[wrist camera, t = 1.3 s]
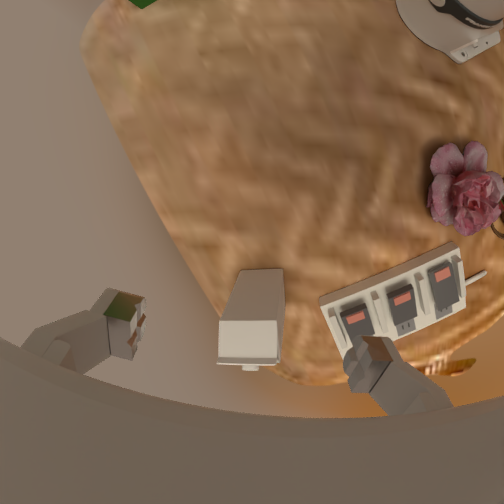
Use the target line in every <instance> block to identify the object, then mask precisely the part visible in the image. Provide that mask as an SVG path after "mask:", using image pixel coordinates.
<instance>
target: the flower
mask: <svg viewBox="0 0 504 504" xmlns="http://www.w3.org/2000/svg"><path fill="white" fill-rule="evenodd" d="M486 166H487V151H486V149H485V147H484V146H483V145H482V144H480V143H479V142H477V141H471V142H469V143H468V144H467V145H466V146H465V148H464V151H463V153H462V154H461V152H460V151H459V149H458V147H457V146H456V145H455V144H454V143H448V144H445V145H443V146H441V147H440V148H439V149H438V150H437V151H436V152H435V153H434V154H433V156H432V158H431V162H430V168H431V171H432V174H433V176H434V177H433V180H432V182H431V183H430V184H429V186H428V196H427V201H428V202H427V205H426V207H431V215H432V219H433V220H434V221H435V222H438V221H439V222H440V223H441V224H442V225H444V226H448V225H449V224H454V227H455V229H456V230H457V231H458V232H459V233H460V234H462V235H464V236H467V235H468V236H469V235H473V234H474V233H475V232H478V231H479V230H480V229H481V228H483V229H486V228H487V227H489V226H491V224H492V223H493V222H495V221H496V220H497V219H498V217H499V215H500V214H501V212H502V213H503V212H504V204H503V201H502V199H501V198H502V196H503V195H504V185H503V180H502V177H501V176H500V175H499V174H498V173H495V172H493V171H489V172H486Z"/></svg>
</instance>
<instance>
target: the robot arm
mask: <svg viewBox="0 0 504 504" xmlns="http://www.w3.org/2000/svg"><path fill="white" fill-rule="evenodd" d="M396 5H397V9H398V12H399V14H400V16H401V18H402V19H403V21H404V23H405V24H406V25H407V27H408V28H409V29H410V30H411V31H412V32H413V33H414V34H415V35H416V36H417V37H418V38H419V39H421V40H422V41H423V42H425V43H426V44H428V45H429V46H431V47H433V48H435V49H438V50H440V51H442V52H444V53H446V54H447V55H448V56H449V57H450V58H451V59H452V60H454V61H455V62H456V63H458V64H461V63H463V62H465V61H467V60H469V59H470V58H472V57H474V56H476V55H478V54H479V53H481V52H483V51H485V50H487V49H488V48H490V47H492V46H494V45H496V44H498V43H499V42H500V34H499V30H501V29H503V26H504V25H503V18H504V0H396ZM461 53H462V54H463V56H462V54H461ZM145 308H146V299H145V297H141V296H137V295H134V294H130V293H126V292H123V291H119V290H116V289H112V288H107V289H106V290H105V291H104V292H103V293H102V295H101V296H100V297H99V299H98V300H97V301H96V303H95V304H94V305H93V307H92V308H91V309H90V311H88V310H84V311H82V312H79V313H76V314H74V315H71V316H68V317H66V318H63V319H60V320H58V321H55V322H52V323H50V324H47V325H44V326H41V327H39V328H36V329H35V330H34V331H33V332H32V334H31V335H30V336H29V337H28V338H27V340H26V341H25V342H24V343H23V345H22V346H21V347H18V346H16V345H14V344H12V343H10V342H8V341H6V340H4V339H2V338H1V337H0V504H504V396H499V397H496V398H492V399H489V400H484V401H481V402H476V403H472V404H467V405H462V406H458V407H453V405H452V403H451V401H450V399H449V397H448V396H447V394H446V392H445V390H444V389H442V388H441V387H439V386H438V385H437V384H436V383H434V382H433V381H432V380H430V379H429V378H428V377H426V376H425V375H423V374H422V373H421V372H419V371H418V370H417V369H415V368H414V367H413V366H411V365H410V364H409V363H407V362H404V361H403V360H402V358H401V356H400V354H399V352H398V351H397V349H396V347H395V345H394V344H393V342H392V340H391V339H390V338H389V337H381V336H378V337H376V336H365V335H357V336H355V337H354V339H353V341H352V345H353V347H352V348H350V349H349V350H347V352H346V354H345V356H344V360H343V368H344V372H345V373H346V374H347V375H348V376H349V379H348V380H347V381H348V384H349V386H350V389H351V392H352V393H369V394H370V396H371V397H372V398H373V399H374V400H375V401H376V402H377V403H378V404H379V405H380V407H381V408H382V409H383V410H384V411H385V412H386V413H387V414H388V415H389V416H383V417H367V418H302V417H283V416H269V415H260V414H250V413H241V412H234V411H226V410H220V409H214V408H208V407H202V406H197V405H191V404H186V403H181V402H177V401H172V400H168V399H163V398H159V397H155V396H151V395H147V394H143V393H140V392H136V391H133V390H129V389H125V388H122V387H119V386H116V385H112V384H109V383H106V382H103V381H100V380H97V379H94V378H91V377H89V376H86V375H83V374H84V373H86V372H87V371H89V370H90V369H92V368H93V367H95V366H96V365H98V364H99V363H101V362H102V361H104V360H105V359H107V358H109V357H110V355H112V356H116V357H120V358H123V359H128V360H133V357H134V355H135V353H136V351H137V342H139V341H141V339H142V337H143V334H144V330H145V323H146V316H145V315H144V313H143V312H144V310H145Z"/></svg>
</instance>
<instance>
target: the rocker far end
mask: <svg viewBox="0 0 504 504" xmlns="http://www.w3.org/2000/svg"><path fill="white" fill-rule="evenodd" d="M339 313H340V317H341V320H342V322H343V324H344V327H345V329H346V331H347V334H348V336H349V338H350V341H351V343H352V341H353V339H354V337H355V336H357V335H365V336H371V335H374V334H375V331H374V328H373V325H372V321H371V318H370V315H369V312H368V309H367V306H366V303H363V304H360V305H358V306H355V307H353V308H350V309H347V310H345V311H342V312H339Z"/></svg>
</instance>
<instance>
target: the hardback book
mask: <svg viewBox="0 0 504 504" xmlns="http://www.w3.org/2000/svg"><path fill="white" fill-rule="evenodd" d="M129 1H130V2H132V3H133V4H135V5H136V6H138V7H139V8H141V9H143V8H145V7H146V6H148V5H150V4H151V3H153V2H155V1H157V0H129Z"/></svg>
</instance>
